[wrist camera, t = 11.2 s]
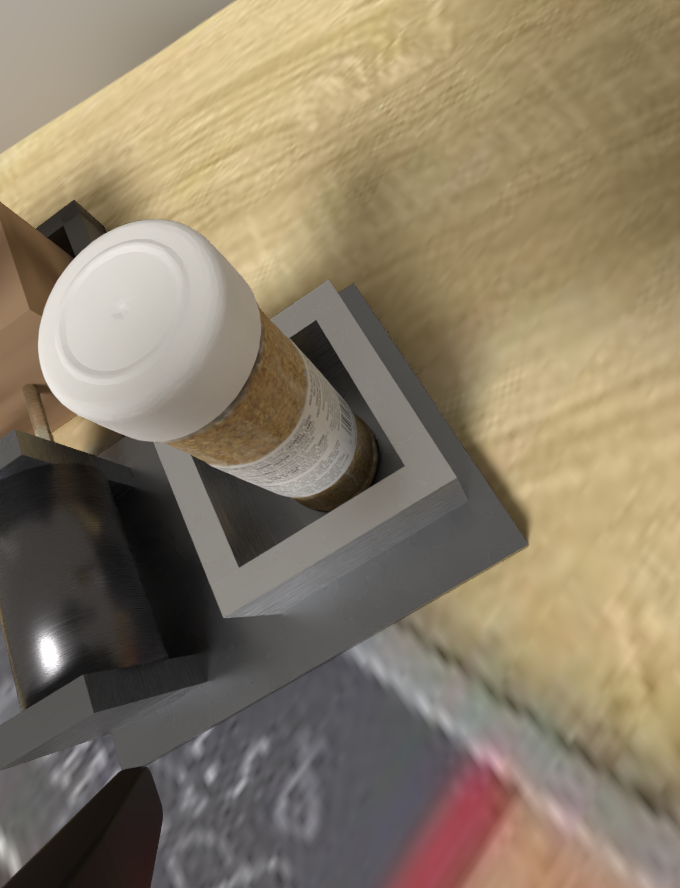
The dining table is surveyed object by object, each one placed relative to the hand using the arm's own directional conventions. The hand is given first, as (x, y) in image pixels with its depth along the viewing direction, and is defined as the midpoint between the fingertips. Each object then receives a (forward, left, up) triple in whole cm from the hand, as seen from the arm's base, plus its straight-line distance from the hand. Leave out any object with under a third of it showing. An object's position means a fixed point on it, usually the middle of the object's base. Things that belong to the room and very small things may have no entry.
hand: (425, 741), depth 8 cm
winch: (+12, +6, -13) cm, 18 cm away
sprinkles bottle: (+9, +1, -12) cm, 15 cm away
